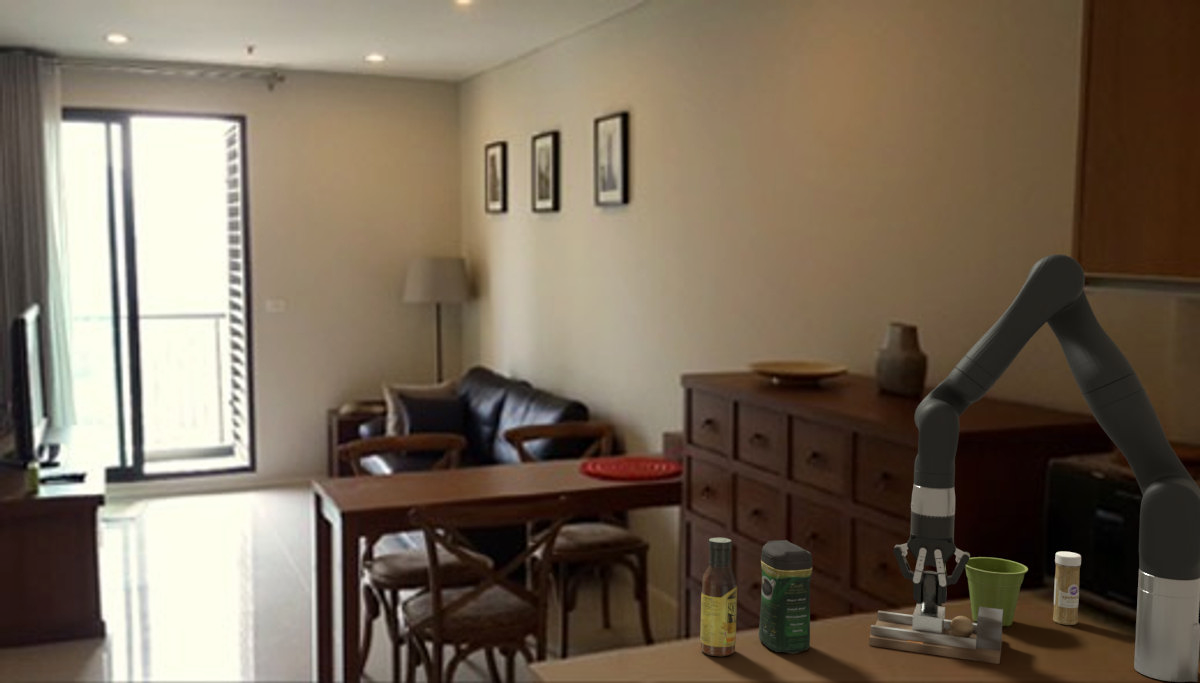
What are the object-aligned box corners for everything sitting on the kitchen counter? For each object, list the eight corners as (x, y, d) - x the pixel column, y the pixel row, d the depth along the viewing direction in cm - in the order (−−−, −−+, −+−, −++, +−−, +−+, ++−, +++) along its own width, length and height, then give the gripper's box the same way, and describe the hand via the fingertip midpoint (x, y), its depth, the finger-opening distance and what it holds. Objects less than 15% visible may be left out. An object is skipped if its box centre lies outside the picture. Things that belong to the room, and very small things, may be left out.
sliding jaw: (944, 628, 198) (946, 569, 197) (941, 640, 192) (943, 579, 191) (916, 624, 200) (918, 566, 199) (912, 636, 194) (914, 576, 193)
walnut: (973, 636, 195) (974, 614, 195) (972, 643, 191) (973, 621, 191) (950, 633, 196) (951, 611, 196) (948, 640, 193) (949, 618, 192)
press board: (1001, 640, 197) (1003, 605, 197) (999, 664, 185) (1001, 627, 185) (879, 623, 206) (880, 590, 205) (869, 645, 194) (870, 609, 193)
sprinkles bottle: (1067, 627, 205) (1070, 557, 205) (1047, 620, 209) (1050, 552, 209) (1083, 623, 208) (1086, 555, 207) (1063, 616, 212) (1066, 549, 211)
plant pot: (1035, 633, 202) (1037, 574, 201) (971, 631, 202) (973, 572, 201) (1012, 613, 214) (1015, 557, 213) (952, 611, 214) (954, 555, 213)
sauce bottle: (734, 659, 185) (737, 546, 184) (697, 656, 187) (700, 543, 185) (737, 646, 192) (739, 536, 190) (702, 643, 193) (704, 534, 192)
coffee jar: (816, 653, 189) (820, 549, 188) (775, 657, 187) (778, 551, 186) (792, 634, 199) (795, 535, 197) (752, 638, 196) (755, 538, 195)
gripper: (975, 509, 195) (971, 603, 196) (895, 502, 201) (892, 593, 202) (972, 518, 188) (968, 615, 189) (890, 510, 194) (886, 604, 195)
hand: (929, 603), depth 196 cm, fingers closed on sliding jaw, 3 cm apart
